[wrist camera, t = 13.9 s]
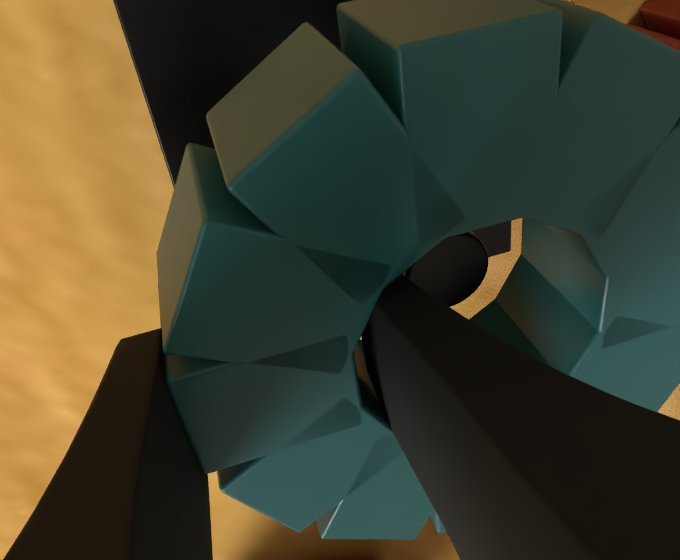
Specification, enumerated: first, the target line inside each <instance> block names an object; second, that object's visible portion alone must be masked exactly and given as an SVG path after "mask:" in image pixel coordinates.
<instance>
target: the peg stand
mask: <svg viewBox="0 0 680 560" xmlns="http://www.w3.org/2000/svg"><path fill="white" fill-rule="evenodd" d="M113 1H114V4H115V7H116V10H117V13H118V17H119V20H120V23H121V26H122V29H123V32H124V35H125V38H126V41H127V44H128V47H129V50H130V54H131V57H132V60H133V63H134V66H135V69H136V72H137V75H138V78H139V81H140V84H141V88H142V91H143V94H144V97H145V100H146V103H147V106H148V109H149V112H150V115H151V118H152V121H153V125H154V128H155V131H156V134H157V137H158V140H159V143H160V146H161V149H162V152H163V155H164V159H165V162H166V165H167V168H168V171H169V174H170V177H171V180H172V183H173V186H174V189H175V185H176V181H177V178H178V174H179V170H180V167H181V163H182V160H183V156H184V152H185V149H186V146H187V144H188V143H195V144H198V145H202V146H206V147H210V148H213V149H215V146H214V143H213V139H212V136H211V133H210V129H209V126H208V122H207V119H206V115H207V112H208V111H210V110H211V109H212V108H213V107H214V106H215V105H216V104H217V103H218V102H219V101H220V100H221V99H222V98H223V97H225V96H226V95H227V94H228V93H229V92H230V91H231V90H232V89H233V88H234V87H235V86H236V85H237V84H238V83H240V82H241V81H242V80H243V79H244V78H245V77H246V76H247V75H248V74H249V73H250V72H251V71H252V70H253V69H255V68H256V67H257V66H258V65H259V64H260V63H261V62H262V61H263V60H264V59H265V58H266V57H267V56H268V55H270V54H271V53H272V52H273V51H274V50H275V49H276V48H277V47H278V46H279V45H280V44H281V43H282V42H283V41H285V40H286V39H287V38H288V37H289V36H290V35H291V34H292V33H293V32H294V31H295V30H296V29H297V28H298V27H300V26H301V25H302V24H303V23H306V22H308V23H309V24H311V25H312V26H313V27H315V28H316V29H317V30H318V31H319V32H320V33H321V34H322V35H323V36H325V37H326V38H327V39H328V40H329V41H330V42H331V43H332V44H334V45H335V46H336V47H337V48H338V49H339V50H340V51H341V52H342V49H341V42H340V34H339V27H338V19H337V12H336V8H337V5H338V4H340V3H343V2H348V1H352V0H113ZM510 250H511V221H507V222H504V223H500V224H496V225H493V226H489V227H485V228H482V229H478V230H474V231H471V232H467V233H463V234H460V235H456V236H452V237H449V238H445V239H444V240H442V241H441V242H440V243H439V244H438V245H436V246H435V247H434V248H433V249H431V250H430V251H429V252H428V253H427V254H425V255H424V256H423V257H422V258H420V259H419V260H418V261H417V262H416V263H414V264H413V265H412V266H411V267H409V268H408V269H407V270H406V271H405V272H403V273H402V275H404V276H405V277H407V278H408V279H409V280H411V281H412V282H414V283H415V284H416V285H418V286H419V287H421V288H422V289H424V290H425V291H426V292H428V293H429V294H431V295H432V296H434V297H435V298H437V299H438V300H439V301H441V302H442V303H444V304H445V305H447V306H448V307H450V306H453V305H456V304H458V303H460V302H462V301H463V300H465V299H466V298H468V297H469V296H470V295H471V294H472V293H473V292H474V291H475V290H476V289H477V288H478V287H479V286H480V284H481V282H482V281H483V279H484V277H485V275H486V272H487V268H488V257H491V256H494V255H498V254H502V253H505V252H509V251H510Z"/></svg>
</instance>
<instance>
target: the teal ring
mask: <svg viewBox="0 0 680 560" xmlns="http://www.w3.org/2000/svg"><path fill="white" fill-rule="evenodd" d="M336 12H337V19H338V27H339V34H340V42H341V49H342V52H341V51H340V50H339V49H338V48H337V47H336V46H335V45H334V44H332V43H331V42H330V41H329V40H328V39H327V38H326V37H325V36H323V35H322V34H321V33H320V32H319V31H318V30H317V29H316V28H315V27H313V26H312V25H311V24H309V23H308V22H306V23H303V24H302V25H301V26H300V27H298V28H297V29H296V30H295V31H294V32H293V33H292V34H291V35H290V36H289V37H288V38H287V39H286V40H285V41H283V42H282V43H281V44H280V45H279V46H278V47H277V48H276V49H275V50H274V51H273V52H272V53H271V54H270V55H268V56H267V57H266V58H265V59H264V60H263V61H262V62H261V63H260V64H259V65H258V66H257V67H256V68H255V69H253V70H252V71H251V72H250V73H249V74H248V75H247V76H246V77H245V78H244V79H243V80H242V81H241V82H240V83H238V84H237V85H236V86H235V87H234V88H233V89H232V90H231V91H230V92H229V93H228V94H227V95H226V96H225V97H223V98H222V99H221V100H220V101H219V102H218V103H217V104H216V105H215V106H214V107H213V108H212V109H211V110H210V111H208V112H207V115H206V119H207V122H208V126H209V129H210V133H211V136H212V139H213V143H214V146H215V149H213V148H210V147H206V146H202V145H198V144H195V143H188V144H187V146H186V149H185V152H184V156H183V160H182V163H181V167H180V170H179V174H178V178H177V181H176V185H175V189H174V192H173V196H172V199H171V203H170V207H169V210H168V214H167V218H166V221H165V225H164V228H163V232H162V236H161V239H160V243H159V247H158V250H157V266H158V281H159V282H158V290H159V306H160V321H161V328H162V342H163V352H164V367H165V384H166V386H167V389H168V391H169V394H170V396H171V398H172V401H173V403H174V406H175V408H176V410H177V413H178V415H179V418H180V420H181V422H182V425H183V427H184V429H185V432H186V434H187V437H188V439H189V441H190V444H191V446H192V449H193V451H194V453H195V456H196V458H197V461H198V463H199V465H200V468H201V470H202V472H203V473H204V474H208V473H212V472H215V471H217V475H218V482H219V488H220V490H221V491H222V492H223V493H224V494H226V495H228V496H230V497H232V498H234V499H236V500H238V501H240V502H241V503H243V504H245V505H247V506H249V507H251V508H253V509H255V510H257V511H258V512H260V513H262V514H264V515H266V516H268V517H270V518H272V519H273V520H275V521H277V522H279V523H281V524H283V525H285V526H287V527H289V528H290V529H292V530H294V531H296V532H301V531H303V530H304V529H306V528H307V527H308V526H310V525H311V524H312V523H314V522H315V521H316V523H317V526H318V530H319V534H320V537H321V538H322V539H415V538H417V536H418V534H419V533H420V531H421V530H422V528H423V526H424V525H425V523H426V522H427V520H428V518H429V517H430V519H431V521H432V523H433V526H434V528H435V530H436V531H437V532H438V533H444V532H447V531H446V530H445V528H444V526H443V524H442V522H441V520H440V519H439V517H438V515H437V513H436V511H435V509H434V508H433V506H432V504H431V502H430V500H429V498H428V496H427V495H426V493H425V491H424V489H423V487H422V485H421V484H420V482H419V480H418V478H417V476H416V474H415V473H414V471H413V469H412V467H411V465H410V463H409V462H408V460H407V458H406V456H405V454H404V452H403V450H402V448H401V447H400V445H399V443H398V441H397V439H396V437H395V435H394V434H393V432H392V429H391V426H390V423H389V421H388V420H387V418H386V415H385V413H384V411H383V409H382V407H381V405H380V403H379V400H378V398H377V395H376V392H375V390H374V387H373V385H372V382H371V380H370V377H369V374H368V372H367V369H366V362H365V356H364V349H363V343H362V340H359V339H360V337H361V335H362V333H363V331H364V329H365V327H366V324H367V322H368V320H369V318H370V316H371V314H372V312H373V310H374V308H375V303H376V302H377V301H378V299H379V297H380V295H381V293H382V291H383V289H384V288H385V287H386V286H387V285H389V284H390V283H391V282H392V281H394V280H395V279H396V278H397V277H398V276H400V275H401V274H402V273H403V272H405V271H406V270H407V269H408V268H409V267H411V266H412V265H413V264H414V263H416V262H417V261H418V260H419V259H420V258H422V257H423V256H424V255H425V254H427V253H428V252H429V251H430V250H431V249H433V248H434V247H435V246H436V245H438V244H439V243H440V242H441V241H442V240H444V239H445V238H449V237H452V236H456V235H460V234H463V233H467V232H471V231H474V230H478V229H482V228H485V227H489V226H493V225H496V224H500V223H504V222H507V221H511V220H515V219H518V218H523V220H522V248H521V255H520V257H519V258H518V260H517V262H516V264H515V265H514V267H513V269H512V271H511V272H510V274H509V276H508V278H507V279H506V281H505V283H504V285H503V286H502V288H501V290H500V292H499V293H498V295H497V297H496V299H495V300H493V301H492V302H491V303H490V304H488V305H487V306H486V307H484V308H483V309H482V310H481V311H479V312H478V313H477V314H476V315H474V316H473V317H472V318H470V319H469V320H470V321H472V322H473V323H475V324H476V325H478V326H480V327H481V328H483V329H484V330H486V331H488V332H489V333H491V334H492V335H494V336H496V337H497V338H499V339H501V340H503V341H504V342H506V343H508V344H509V345H511V346H513V347H515V348H517V349H518V350H520V351H522V352H524V353H526V354H528V355H529V356H531V357H533V358H535V359H537V360H539V361H540V362H542V363H544V364H546V365H548V366H550V367H552V368H554V369H556V370H558V371H561V372H563V373H565V374H567V375H569V376H571V377H574V378H576V379H578V380H580V381H582V382H585V383H587V384H589V385H591V386H593V387H596V388H598V389H600V390H602V391H604V392H607V393H609V394H611V395H614V396H616V397H619V398H621V399H624V400H626V401H629V402H631V403H634V404H636V405H639V406H642V407H644V408H647V409H650V410H652V411H655V412H658V410H659V409H660V408H661V406H662V405H663V404H664V403H665V401H666V400H667V399H668V397H669V396H670V395H671V394H672V392H673V391H674V390H675V388H676V387H677V386H678V385H679V383H680V51H679V50H677V49H675V48H673V47H671V46H669V45H667V44H665V43H663V42H661V41H659V40H657V39H655V38H652V37H650V36H648V35H646V34H644V33H642V32H640V31H638V30H636V29H634V28H632V27H630V26H628V25H626V24H623V23H621V22H619V21H617V20H615V19H613V18H611V17H609V16H607V15H605V14H603V13H600V12H597V11H594V10H591V9H588V8H585V7H581V6H578V5H575V4H572V3H569V2H566V1H562V0H352V1H348V2H343V3H340V4H338V5H337V8H336Z"/></svg>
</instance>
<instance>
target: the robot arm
mask: <svg viewBox="0 0 680 560" xmlns="http://www.w3.org/2000/svg"><path fill="white" fill-rule="evenodd" d="M361 336H362V343H363V349H364V356H365V362H366V369H367V372H368V374H369V377H370V380H371V382H372V385H373V387H374V390H375V392H376V395H377V398H378V400H379V403H380V405H381V407H382V409H383V411H384V413H385V415H386V418H387V420H388V421H389V423H390V426H391V429H392V432H393V434H394V435H395V437H396V439H397V441H398V443H399V445H400V447H401V448H402V450H403V452H404V454H405V456H406V458H407V460H408V462H409V463H410V465H411V467H412V469H413V471H414V473H415V474H416V476H417V478H418V480H419V482H420V484H421V485H422V487H423V489H424V491H425V493H426V495H427V496H428V498H429V500H430V502H431V504H432V506H433V508H434V509H435V511H436V513H437V515H438V517H439V519H440V520H441V522H442V524H443V526H444V528H445V530H446V531H447V533H448V535H449V537H450V539H451V541H452V543H453V545H454V547H455V549H456V551H457V553H458V555H459V557H460V559H461V560H680V421H679V420H677V419H674V418H671V417H668V416H666V415H663V414H660V413H658V412H655V411H652V410H650V409H647V408H644V407H642V406H639V405H636V404H634V403H631V402H629V401H626V400H624V399H621V398H619V397H616V396H614V395H611V394H609V393H607V392H604V391H602V390H600V389H598V388H596V387H593V386H591V385H589V384H587V383H585V382H582V381H580V380H578V379H576V378H574V377H571V376H569V375H567V374H565V373H563V372H561V371H558V370H556V369H554V368H552V367H550V366H548V365H546V364H544V363H542V362H540V361H539V360H537V359H535V358H533V357H531V356H529V355H528V354H526V353H524V352H522V351H520V350H518V349H517V348H515V347H513V346H511V345H509V344H508V343H506V342H504V341H503V340H501V339H499V338H497V337H496V336H494V335H492V334H491V333H489V332H488V331H486V330H484V329H483V328H481V327H480V326H478V325H476V324H475V323H473V322H472V321H470V320H468V319H467V318H465V317H464V316H462V315H460V314H459V313H457V312H456V311H454V310H453V309H451V308H450V307H448V306H447V305H445V304H444V303H442V302H441V301H439V300H438V299H437V298H435V297H434V296H432V295H431V294H429V293H428V292H426V291H425V290H424V289H422V288H421V287H419V286H418V285H416V284H415V283H414V282H412V281H411V280H409V279H408V278H407V277H405V276H404V275H402V274H401V275H400V276H398V277H397V278H396V279H395V280H394V281H392V282H391V283H390V284H389V285H387V286H386V287H385V288H384V289H383V291H382V293H381V295H380V297H379V299H378V301H377V302H376V303H375V308H374V310H373V312H372V314H371V316H370V318H369V320H368V322H367V324H366V327H365V329H364V331H363V333H362V335H361ZM3 560H213V556H212V538H211V520H210V503H209V487H208V475H207V474H204V473H203V472H202V470H201V468H200V465H199V463H198V461H197V458H196V456H195V453H194V451H193V449H192V446H191V444H190V441H189V439H188V437H187V434H186V432H185V429H184V427H183V425H182V422H181V420H180V418H179V415H178V413H177V410H176V408H175V406H174V403H173V401H172V398H171V396H170V394H169V391H168V389H167V386H166V384H165V367H164V352H163V342H162V328H160V329H156V330H153V331H149V332H145V333H142V334H138V335H135V336H131V337H127V338H124V339H121V340H120V342H119V343H118V345H117V347H116V349H115V351H114V353H113V356H112V358H111V360H110V363H109V365H108V367H107V369H106V372H105V374H104V376H103V379H102V381H101V383H100V385H99V388H98V390H97V392H96V394H95V396H94V398H93V401H92V403H91V405H90V407H89V409H88V411H87V413H86V415H85V417H84V419H83V421H82V423H81V425H80V427H79V429H78V431H77V433H76V435H75V437H74V439H73V441H72V443H71V445H70V447H69V449H68V451H67V453H66V455H65V457H64V459H63V461H62V462H61V464H60V466H59V468H58V469H57V471H56V473H55V475H54V477H53V478H52V480H51V482H50V484H49V485H48V487H47V489H46V491H45V492H44V494H43V496H42V498H41V499H40V501H39V503H38V505H37V506H36V508H35V510H34V512H33V513H32V515H31V517H30V518H29V520H28V521H27V523H26V525H25V526H24V528H23V529H22V531H21V533H20V534H19V536H18V537H17V539H16V541H15V542H14V544H13V545H12V547H11V548H10V550H9V551H8V553H7V554H6V556H5V557H4V559H3Z"/></svg>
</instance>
